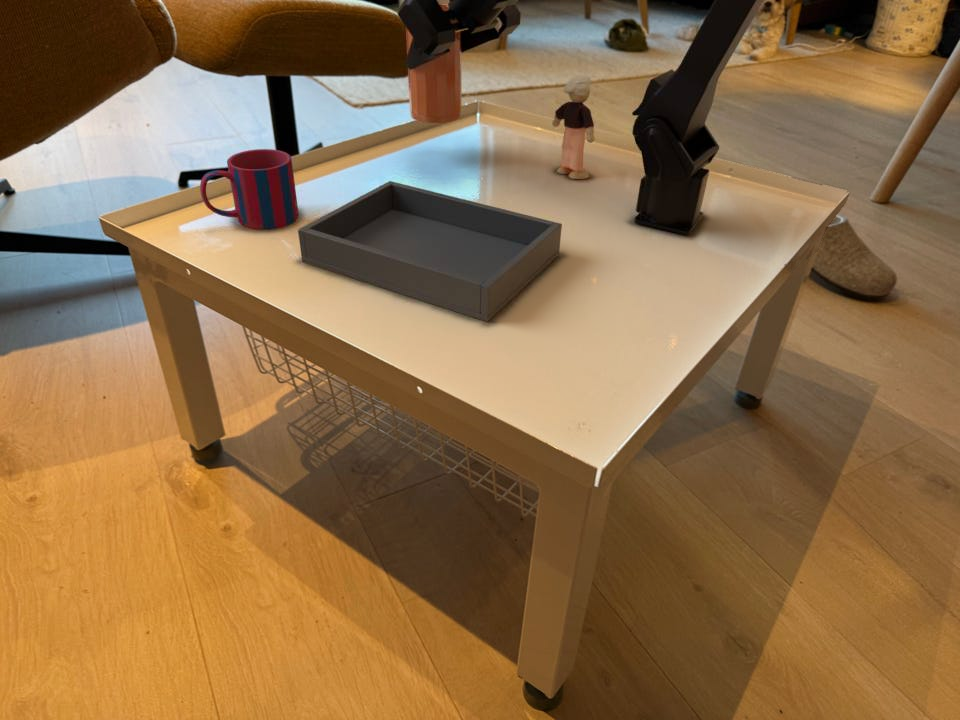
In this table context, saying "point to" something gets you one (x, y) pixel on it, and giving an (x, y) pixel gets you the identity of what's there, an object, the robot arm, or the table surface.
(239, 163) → the mug
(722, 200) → the table surface
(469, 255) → the dark grey shallow tray
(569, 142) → the grandmother figurine
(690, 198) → the robot arm
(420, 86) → the tumbler
